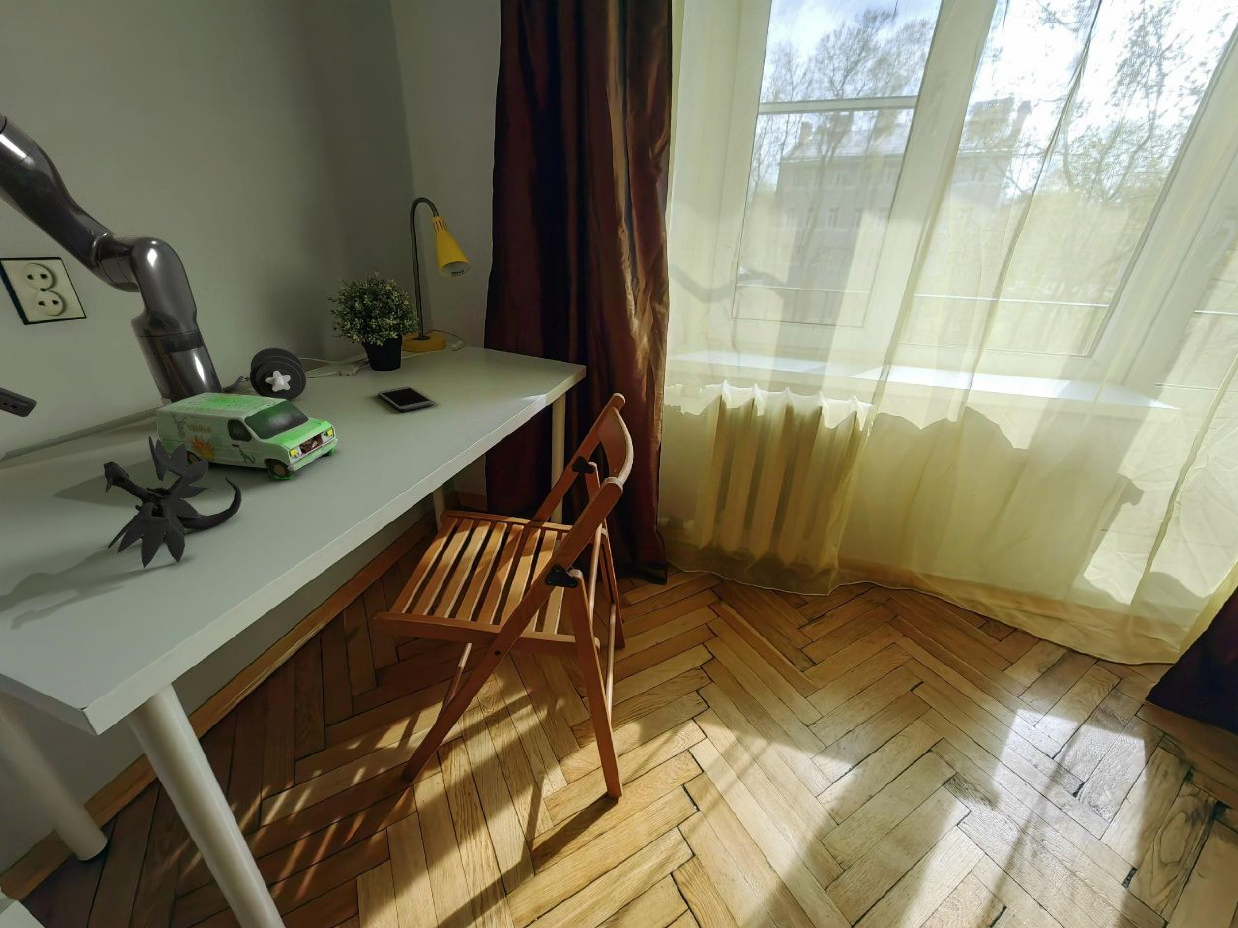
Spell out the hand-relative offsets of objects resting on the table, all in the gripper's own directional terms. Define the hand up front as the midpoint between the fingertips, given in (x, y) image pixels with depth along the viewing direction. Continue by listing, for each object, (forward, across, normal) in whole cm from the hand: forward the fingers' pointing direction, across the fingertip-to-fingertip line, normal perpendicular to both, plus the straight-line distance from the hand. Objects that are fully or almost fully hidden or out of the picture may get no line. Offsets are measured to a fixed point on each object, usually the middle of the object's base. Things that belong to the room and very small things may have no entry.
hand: (32, 409), depth 64 cm
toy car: (+25, 0, -5) cm, 25 cm away
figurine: (+18, -23, +2) cm, 29 cm away
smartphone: (+45, +14, -26) cm, 54 cm away
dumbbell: (+31, +34, -11) cm, 47 cm away
